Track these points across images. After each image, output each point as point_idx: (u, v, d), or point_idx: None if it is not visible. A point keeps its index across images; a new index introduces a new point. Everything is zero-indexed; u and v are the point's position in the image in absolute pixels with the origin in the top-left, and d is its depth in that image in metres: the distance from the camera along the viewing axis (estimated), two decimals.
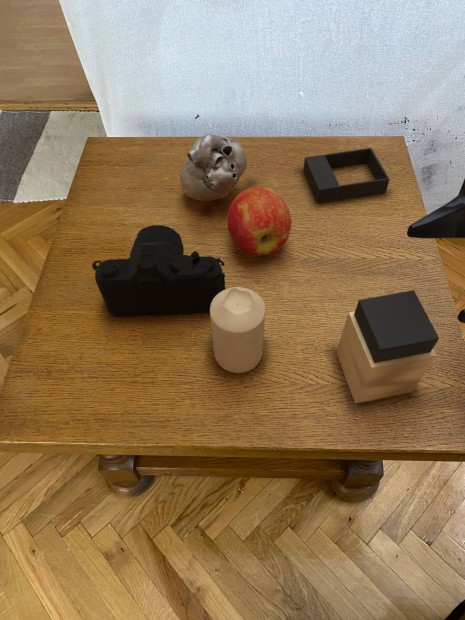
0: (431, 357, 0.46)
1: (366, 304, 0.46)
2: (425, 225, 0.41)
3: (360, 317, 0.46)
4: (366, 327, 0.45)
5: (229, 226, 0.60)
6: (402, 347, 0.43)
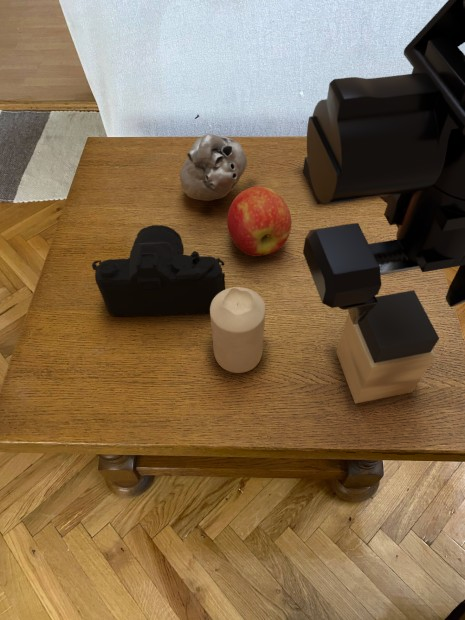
0: (431, 357, 0.46)
1: None
2: (450, 289, 0.44)
3: None
4: (366, 327, 0.45)
5: (229, 226, 0.60)
6: (402, 347, 0.43)
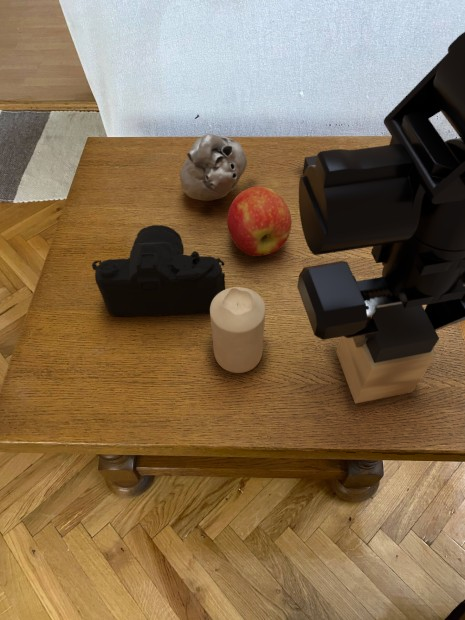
0: (431, 357, 0.46)
1: None
2: None
3: None
4: None
5: (229, 226, 0.60)
6: (402, 347, 0.43)
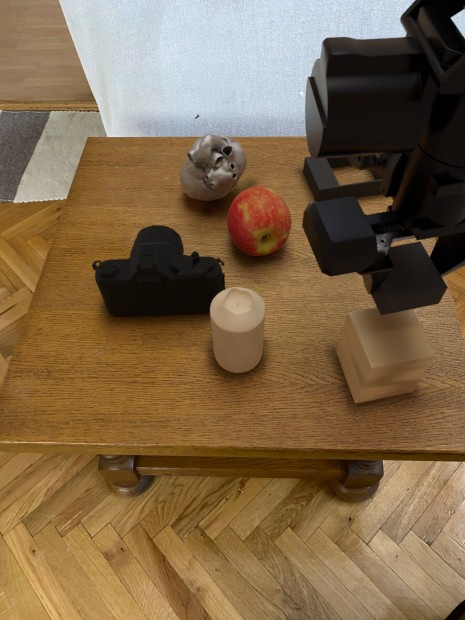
0: (431, 357, 0.46)
1: None
2: None
3: None
4: None
5: (229, 226, 0.60)
6: (409, 296, 0.42)
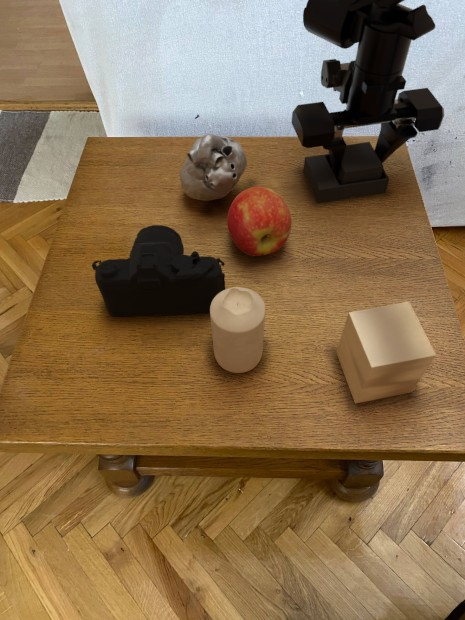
0: (431, 357, 0.46)
1: None
2: None
3: None
4: None
5: (229, 226, 0.60)
6: (359, 171, 0.67)
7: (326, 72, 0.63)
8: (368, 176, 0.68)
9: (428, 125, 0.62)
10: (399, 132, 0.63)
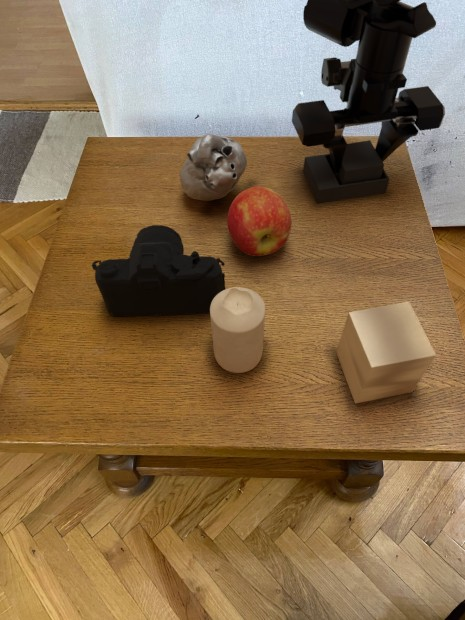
0: (431, 357, 0.46)
1: None
2: None
3: None
4: None
5: (229, 226, 0.60)
6: (360, 170, 0.66)
7: (327, 71, 0.62)
8: (369, 175, 0.67)
9: (429, 123, 0.62)
10: (400, 130, 0.63)
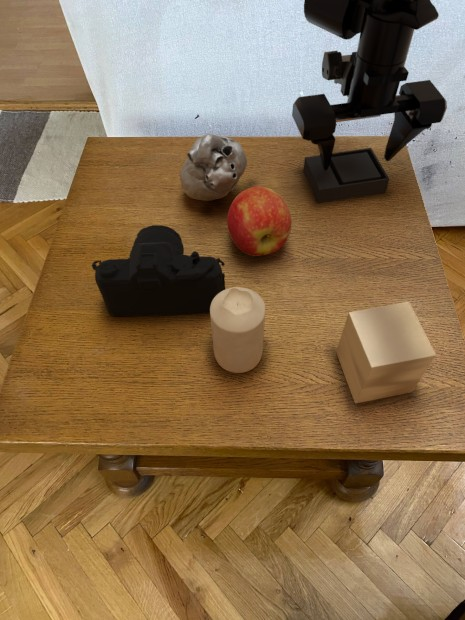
0: (431, 357, 0.46)
1: (335, 159, 0.70)
2: (386, 149, 0.69)
3: None
4: (335, 173, 0.70)
5: (229, 226, 0.60)
6: (357, 181, 0.68)
7: (327, 64, 0.62)
8: None
9: (431, 117, 0.61)
10: (413, 123, 0.63)
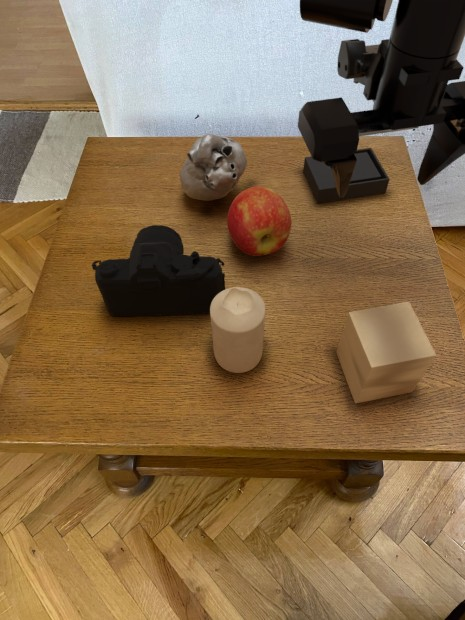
0: (431, 357, 0.46)
1: None
2: (420, 169, 0.52)
3: None
4: None
5: (229, 226, 0.60)
6: (357, 181, 0.68)
7: (346, 57, 0.46)
8: None
9: None
10: (462, 137, 0.46)
